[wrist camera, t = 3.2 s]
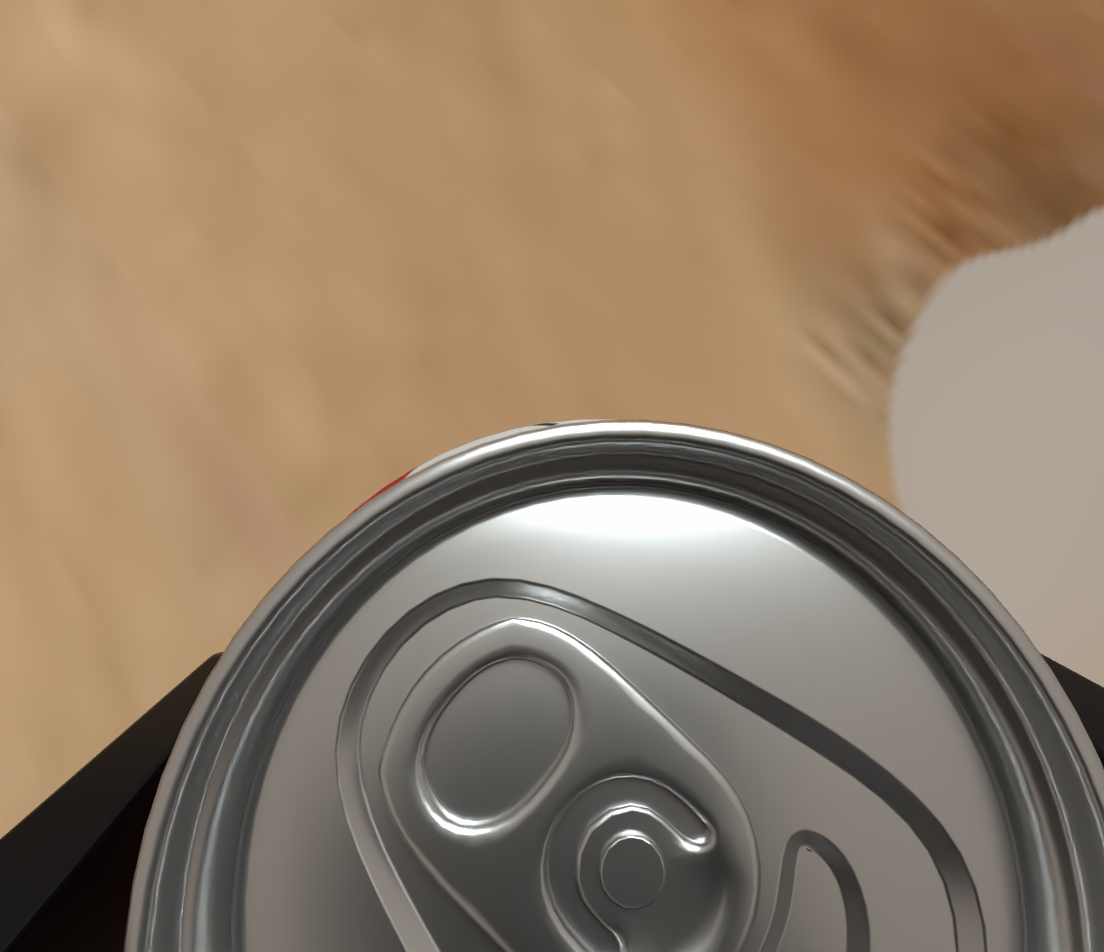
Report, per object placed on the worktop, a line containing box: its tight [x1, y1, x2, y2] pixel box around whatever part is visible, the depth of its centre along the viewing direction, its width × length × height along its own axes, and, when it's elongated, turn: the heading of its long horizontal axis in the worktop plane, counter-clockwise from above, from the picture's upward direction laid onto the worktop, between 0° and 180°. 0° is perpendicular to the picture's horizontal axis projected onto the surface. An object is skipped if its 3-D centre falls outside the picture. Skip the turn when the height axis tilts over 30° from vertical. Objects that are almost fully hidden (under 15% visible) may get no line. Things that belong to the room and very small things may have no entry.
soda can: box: [124, 420, 1104, 952], centre depth 9 cm, size 7×7×12 cm
